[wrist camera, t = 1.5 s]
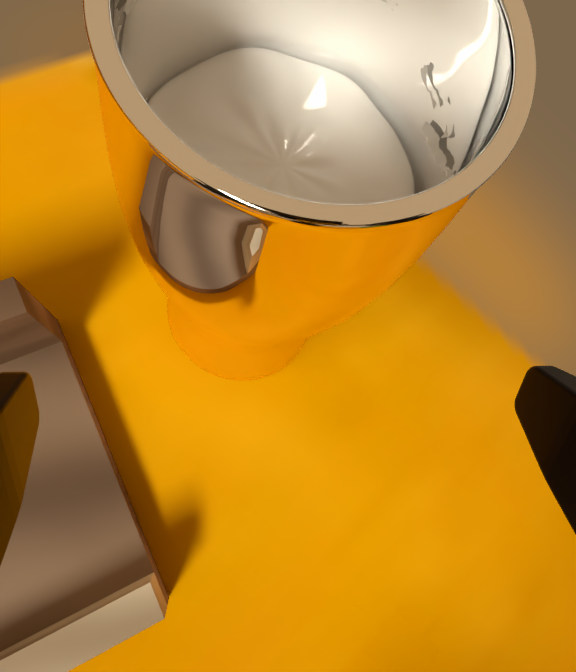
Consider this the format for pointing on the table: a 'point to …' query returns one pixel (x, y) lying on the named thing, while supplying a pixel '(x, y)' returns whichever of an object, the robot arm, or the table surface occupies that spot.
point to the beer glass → (298, 151)
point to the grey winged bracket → (67, 517)
